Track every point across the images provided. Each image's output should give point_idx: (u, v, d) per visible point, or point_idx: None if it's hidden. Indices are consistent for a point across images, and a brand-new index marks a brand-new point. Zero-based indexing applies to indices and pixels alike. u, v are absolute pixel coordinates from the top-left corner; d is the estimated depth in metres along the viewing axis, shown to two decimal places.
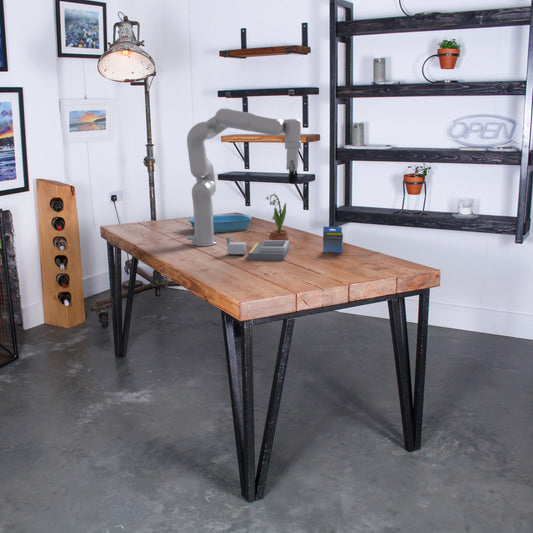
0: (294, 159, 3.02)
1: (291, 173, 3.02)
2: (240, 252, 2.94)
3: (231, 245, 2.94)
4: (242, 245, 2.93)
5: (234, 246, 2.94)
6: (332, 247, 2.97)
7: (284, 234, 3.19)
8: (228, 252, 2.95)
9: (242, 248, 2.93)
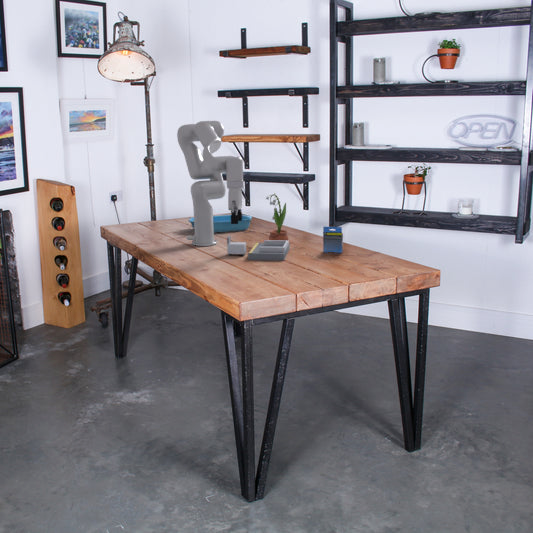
0: (236, 199, 2.86)
1: (233, 214, 2.86)
2: (240, 252, 2.94)
3: (231, 245, 2.94)
4: (242, 245, 2.93)
5: (234, 246, 2.94)
6: (332, 247, 2.97)
7: (284, 234, 3.19)
8: (228, 252, 2.95)
9: (242, 248, 2.93)
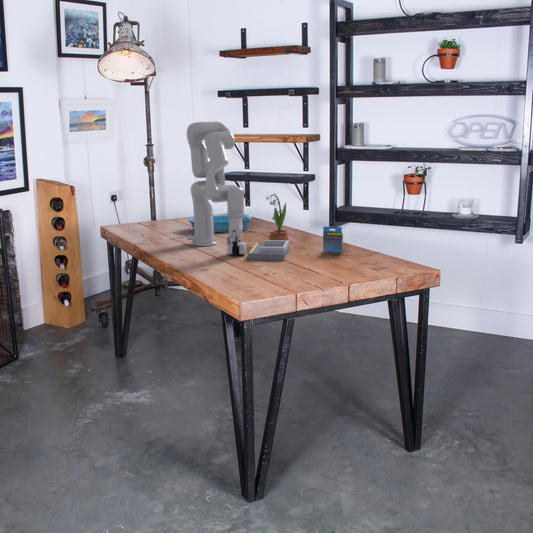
0: (236, 229, 2.89)
1: (234, 245, 2.92)
2: (240, 252, 2.94)
3: (231, 245, 2.94)
4: (242, 245, 2.93)
5: None
6: (332, 247, 2.97)
7: (284, 234, 3.19)
8: (228, 252, 2.95)
9: (242, 248, 2.93)
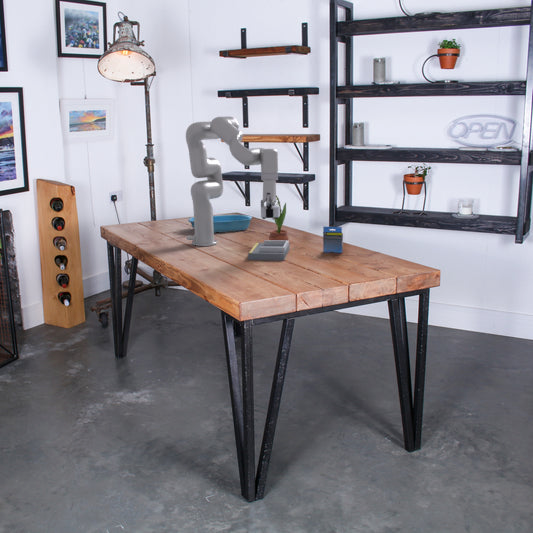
0: (271, 191, 2.85)
1: (268, 208, 2.87)
2: (274, 215, 2.90)
3: (265, 208, 2.89)
4: (276, 208, 2.89)
5: None
6: (332, 247, 2.97)
7: (284, 234, 3.19)
8: (262, 215, 2.90)
9: (276, 211, 2.89)
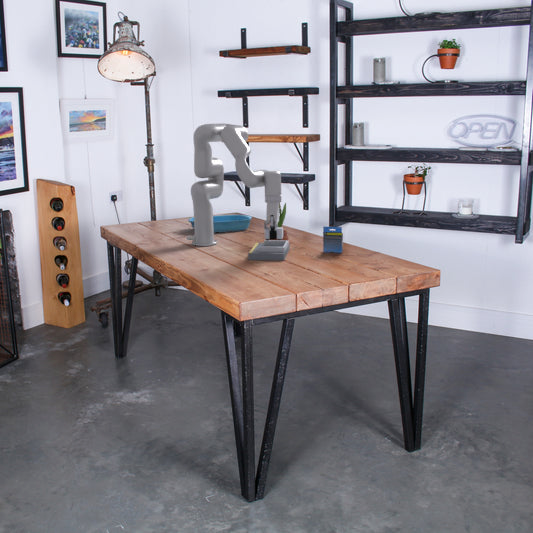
0: (274, 213, 2.87)
1: (272, 230, 2.90)
2: (277, 237, 2.92)
3: (268, 230, 2.92)
4: (280, 230, 2.91)
5: None
6: (332, 247, 2.97)
7: (284, 234, 3.19)
8: (265, 237, 2.93)
9: (280, 233, 2.91)
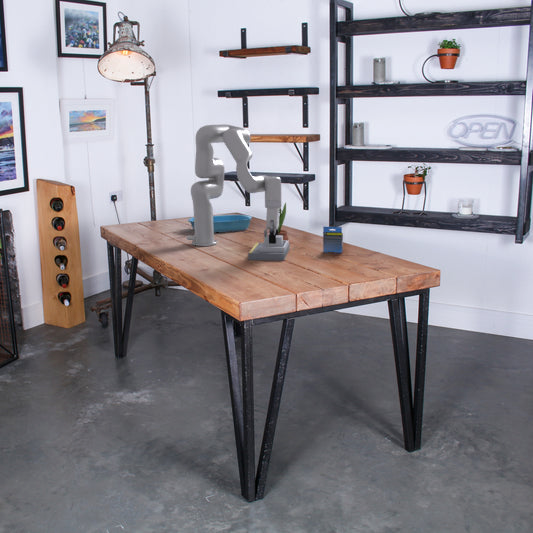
0: (274, 219, 2.88)
1: (271, 234, 2.88)
2: (277, 245, 2.93)
3: (268, 238, 2.93)
4: (279, 238, 2.92)
5: None
6: (332, 247, 2.97)
7: (284, 234, 3.19)
8: (265, 245, 2.94)
9: (279, 241, 2.92)
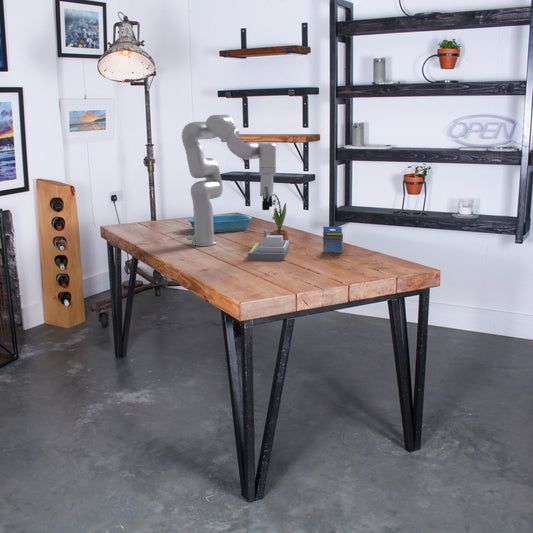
0: (268, 186, 2.87)
1: (265, 200, 2.87)
2: (277, 245, 2.93)
3: (268, 238, 2.93)
4: (279, 238, 2.92)
5: (271, 239, 2.93)
6: (332, 247, 2.97)
7: (284, 234, 3.19)
8: (265, 245, 2.94)
9: (279, 241, 2.92)
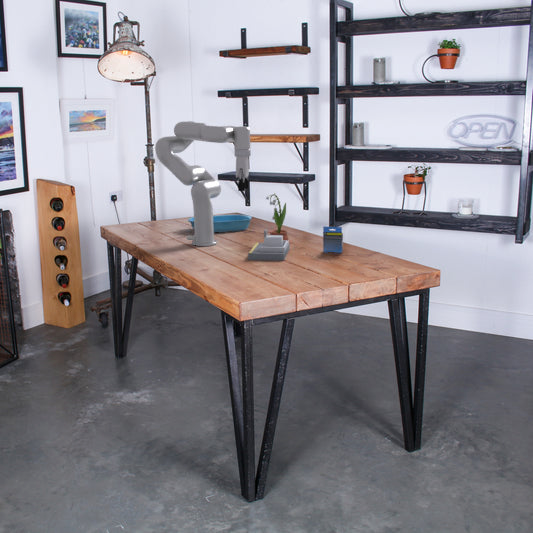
0: (243, 167, 2.98)
1: (240, 181, 2.99)
2: (277, 245, 2.93)
3: (268, 238, 2.93)
4: (279, 238, 2.92)
5: (271, 239, 2.93)
6: (332, 247, 2.97)
7: (284, 234, 3.19)
8: (265, 245, 2.94)
9: (279, 241, 2.92)
